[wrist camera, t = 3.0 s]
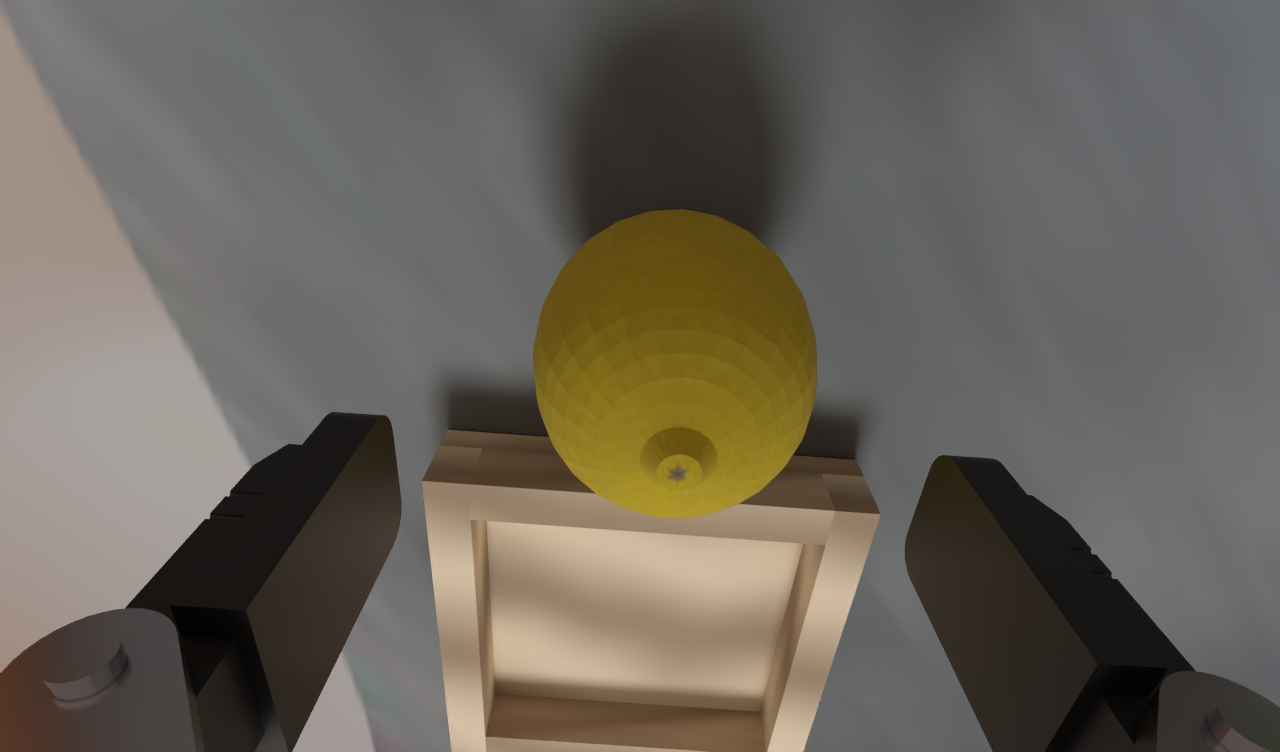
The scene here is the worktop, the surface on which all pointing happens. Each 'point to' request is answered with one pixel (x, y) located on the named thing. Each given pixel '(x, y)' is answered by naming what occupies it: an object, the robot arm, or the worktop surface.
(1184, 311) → the worktop surface
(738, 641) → the tray
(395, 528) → the robot arm
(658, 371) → the lemon
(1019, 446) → the worktop surface
